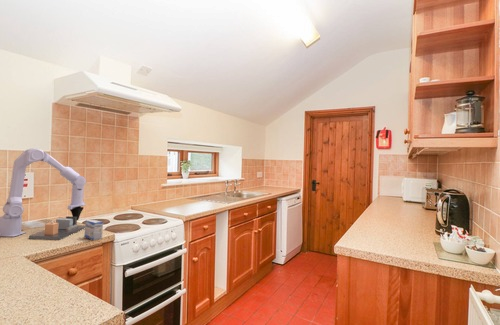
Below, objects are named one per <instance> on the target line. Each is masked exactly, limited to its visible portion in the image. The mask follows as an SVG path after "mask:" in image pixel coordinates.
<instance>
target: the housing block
mask: <svg viewBox="0 0 500 325" xmlns="http://www.w3.org/2000/svg"><path fill="white" fill-rule="evenodd" d="M58 226H59V223H56V222H54V220H52V221H50V222H48V223H45V224H44V230H45V233H44V234H46V235H54V234H56V233H58Z"/></svg>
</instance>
